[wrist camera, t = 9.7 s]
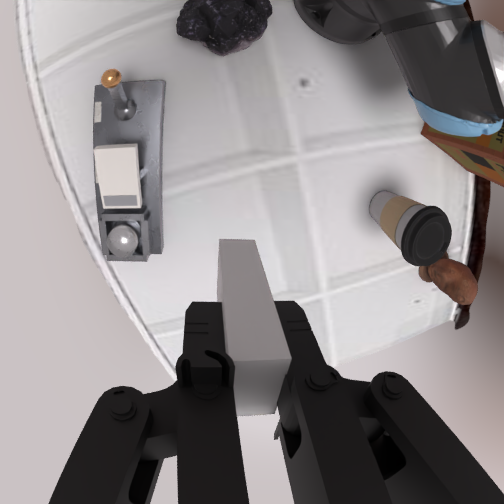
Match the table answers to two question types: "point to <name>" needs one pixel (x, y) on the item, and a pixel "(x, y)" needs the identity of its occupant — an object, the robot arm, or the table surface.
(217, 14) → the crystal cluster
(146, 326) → the table surface
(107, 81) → the toggle
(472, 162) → the box
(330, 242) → the table surface
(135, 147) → the plate
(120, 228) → the button
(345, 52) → the table surface
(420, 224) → the coffee cup
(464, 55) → the robot arm
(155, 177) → the panel
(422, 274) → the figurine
